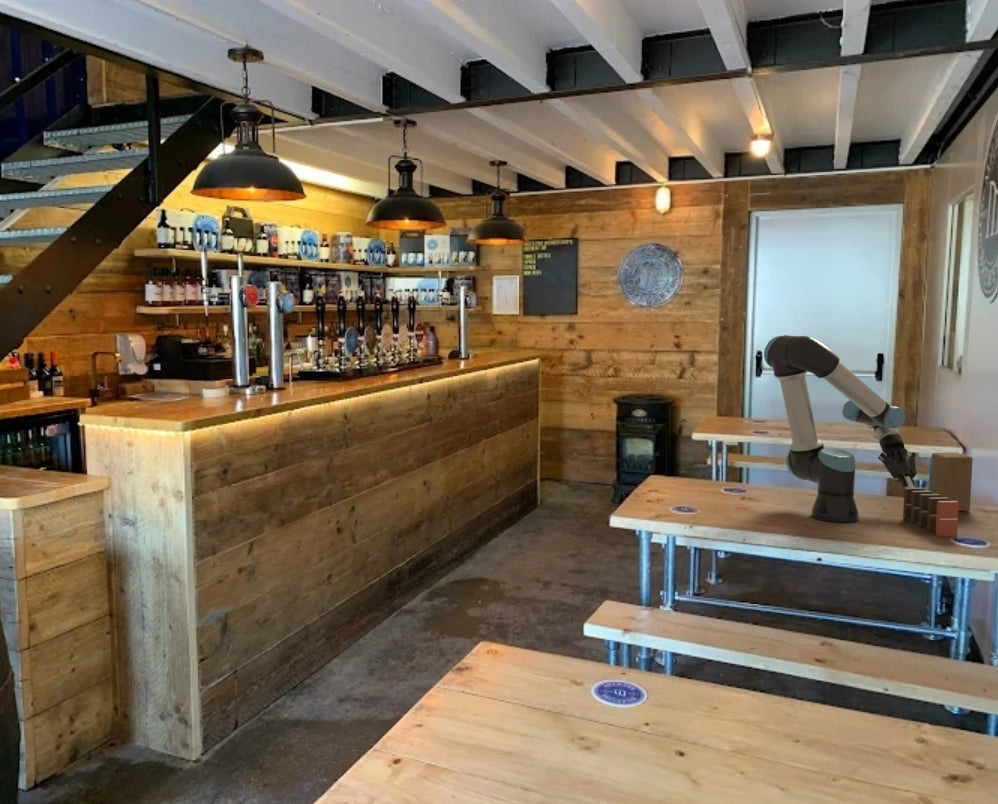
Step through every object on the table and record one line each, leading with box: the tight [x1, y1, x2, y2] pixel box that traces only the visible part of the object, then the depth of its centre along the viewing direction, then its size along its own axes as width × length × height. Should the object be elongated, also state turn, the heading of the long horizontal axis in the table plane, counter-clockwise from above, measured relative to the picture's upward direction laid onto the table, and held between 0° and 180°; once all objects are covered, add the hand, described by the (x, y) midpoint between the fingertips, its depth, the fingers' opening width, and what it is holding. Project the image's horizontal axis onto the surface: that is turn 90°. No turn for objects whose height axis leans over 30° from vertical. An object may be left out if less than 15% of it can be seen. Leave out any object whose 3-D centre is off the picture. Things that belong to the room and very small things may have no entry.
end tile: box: [935, 501, 959, 537], centre depth 250 cm, size 2×6×11 cm, turn 91°
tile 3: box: [918, 494, 941, 529], centre depth 260 cm, size 2×6×11 cm, turn 91°
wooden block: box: [929, 452, 974, 512], centre depth 284 cm, size 10×10×20 cm
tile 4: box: [926, 497, 950, 533], centre depth 255 cm, size 2×6×11 cm, turn 91°
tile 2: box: [910, 490, 932, 524], centre depth 265 cm, size 2×6×11 cm, turn 91°
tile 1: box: [902, 487, 925, 521], centre depth 270 cm, size 2×6×11 cm, turn 91°
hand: (912, 494), depth 272 cm, fingers closed
